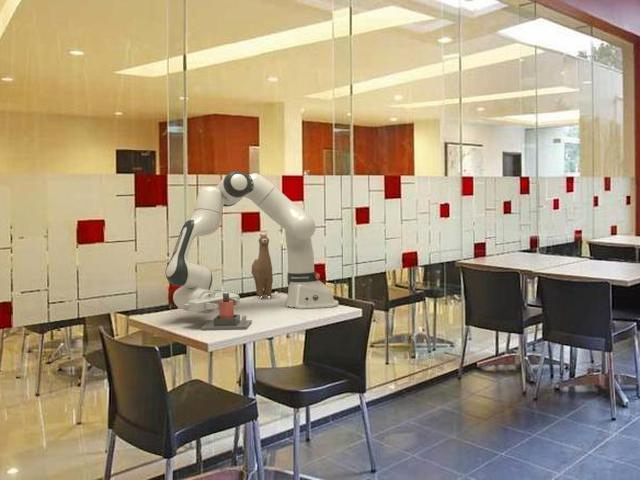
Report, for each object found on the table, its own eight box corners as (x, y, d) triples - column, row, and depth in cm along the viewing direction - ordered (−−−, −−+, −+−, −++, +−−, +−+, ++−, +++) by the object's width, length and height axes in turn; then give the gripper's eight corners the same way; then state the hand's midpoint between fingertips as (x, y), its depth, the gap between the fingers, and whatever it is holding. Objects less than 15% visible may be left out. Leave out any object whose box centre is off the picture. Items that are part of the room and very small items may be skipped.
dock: (251, 322, 227) (251, 313, 227) (246, 329, 215) (246, 319, 215) (209, 323, 228) (208, 314, 228) (201, 330, 216) (200, 320, 216)
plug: (227, 322, 224) (226, 292, 223) (234, 323, 222) (233, 293, 221) (220, 324, 221) (218, 293, 221) (226, 325, 219) (225, 294, 218)
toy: (257, 301, 277) (255, 234, 275) (251, 295, 297) (249, 233, 295) (276, 299, 279) (274, 234, 277) (270, 293, 299) (267, 232, 297)
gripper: (180, 296, 222) (203, 299, 213) (225, 289, 237) (248, 292, 228) (181, 314, 222) (204, 318, 213) (226, 305, 237) (249, 309, 228)
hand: (227, 304), depth 220 cm, fingers open, 8 cm apart
